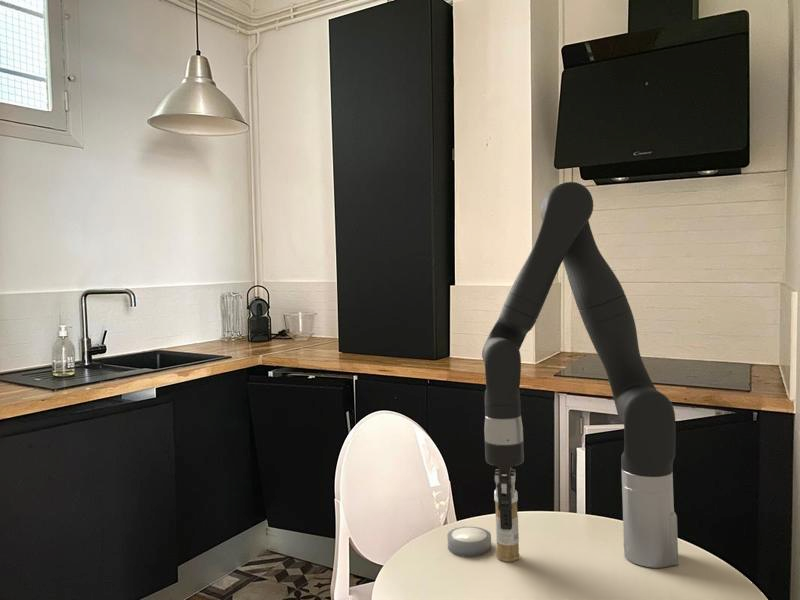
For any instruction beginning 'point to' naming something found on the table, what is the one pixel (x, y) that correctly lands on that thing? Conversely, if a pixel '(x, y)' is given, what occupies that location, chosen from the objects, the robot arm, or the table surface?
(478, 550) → the stand
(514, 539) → the sprinkles bottle
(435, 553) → the table surface
